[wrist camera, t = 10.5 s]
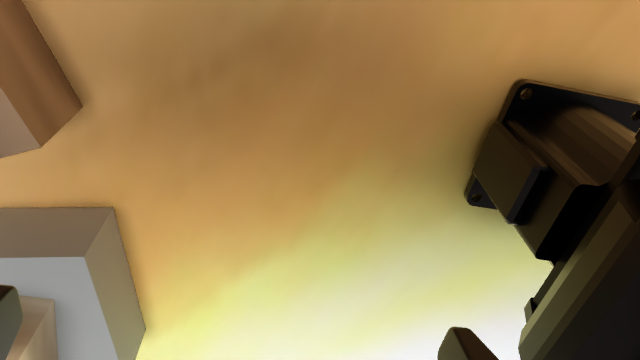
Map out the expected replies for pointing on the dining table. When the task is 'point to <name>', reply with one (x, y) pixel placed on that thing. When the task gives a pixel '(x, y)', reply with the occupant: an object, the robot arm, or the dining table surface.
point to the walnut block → (29, 84)
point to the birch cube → (36, 331)
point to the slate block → (75, 277)
